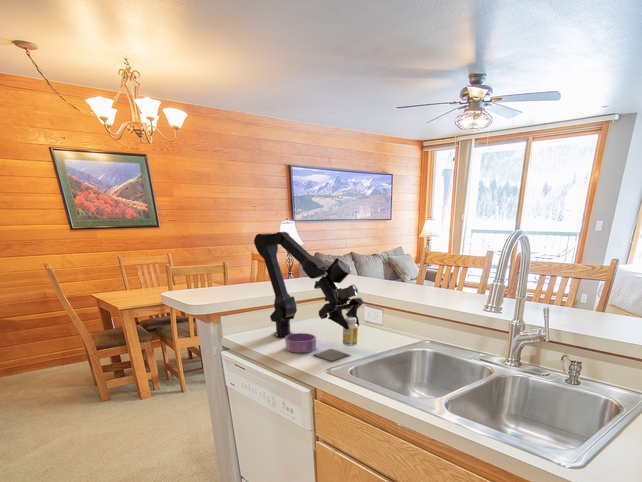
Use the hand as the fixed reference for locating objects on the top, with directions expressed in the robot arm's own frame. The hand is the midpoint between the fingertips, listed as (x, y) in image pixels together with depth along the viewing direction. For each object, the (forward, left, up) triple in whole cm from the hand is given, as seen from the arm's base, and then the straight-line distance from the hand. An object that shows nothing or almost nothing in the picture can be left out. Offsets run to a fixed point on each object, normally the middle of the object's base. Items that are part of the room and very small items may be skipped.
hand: (353, 327), depth 147 cm
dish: (-8, -18, -9) cm, 22 cm away
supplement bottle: (-1, -1, -7) cm, 7 cm away
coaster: (+2, -9, -9) cm, 13 cm away
